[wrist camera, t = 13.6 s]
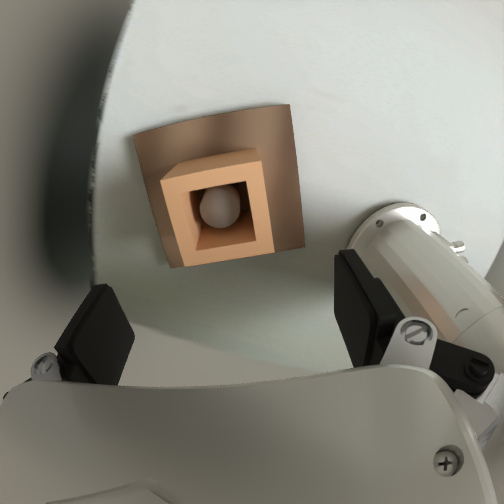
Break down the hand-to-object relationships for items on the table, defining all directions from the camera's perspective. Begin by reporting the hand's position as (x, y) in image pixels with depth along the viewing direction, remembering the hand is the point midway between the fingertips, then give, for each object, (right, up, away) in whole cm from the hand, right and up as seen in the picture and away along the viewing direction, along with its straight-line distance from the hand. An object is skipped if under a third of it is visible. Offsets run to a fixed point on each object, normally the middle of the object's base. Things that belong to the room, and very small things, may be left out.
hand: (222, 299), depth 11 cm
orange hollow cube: (-1, +7, +12) cm, 14 cm away
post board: (-1, +8, +13) cm, 15 cm away
